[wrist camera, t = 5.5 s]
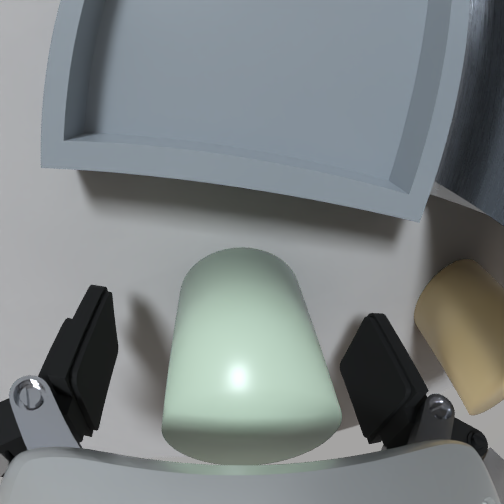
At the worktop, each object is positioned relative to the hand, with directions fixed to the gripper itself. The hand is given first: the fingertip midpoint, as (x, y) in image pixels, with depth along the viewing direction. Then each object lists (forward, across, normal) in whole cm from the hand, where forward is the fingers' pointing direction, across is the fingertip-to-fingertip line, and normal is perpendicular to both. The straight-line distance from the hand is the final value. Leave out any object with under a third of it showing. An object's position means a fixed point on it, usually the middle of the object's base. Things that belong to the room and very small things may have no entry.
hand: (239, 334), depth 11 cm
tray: (+2, +1, -11) cm, 11 cm away
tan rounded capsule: (+2, -11, -1) cm, 11 cm away
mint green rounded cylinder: (+2, 0, 0) cm, 2 cm away
